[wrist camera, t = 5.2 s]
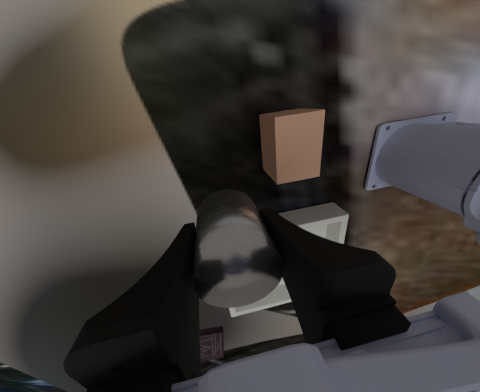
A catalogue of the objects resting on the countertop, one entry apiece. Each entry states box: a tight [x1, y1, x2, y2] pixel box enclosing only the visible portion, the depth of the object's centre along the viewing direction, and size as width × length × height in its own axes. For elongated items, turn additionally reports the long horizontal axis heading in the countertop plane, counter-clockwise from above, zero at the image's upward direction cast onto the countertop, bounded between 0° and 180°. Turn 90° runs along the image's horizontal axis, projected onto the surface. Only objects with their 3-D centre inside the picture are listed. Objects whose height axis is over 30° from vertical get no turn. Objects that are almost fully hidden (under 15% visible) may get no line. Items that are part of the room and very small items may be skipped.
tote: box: [229, 202, 349, 317], centre depth 25 cm, size 16×14×3 cm
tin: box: [192, 189, 284, 308], centre depth 11 cm, size 4×4×6 cm
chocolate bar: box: [199, 326, 224, 362], centre depth 33 cm, size 9×1×18 cm
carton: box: [259, 109, 325, 184], centre depth 17 cm, size 4×6×4 cm
